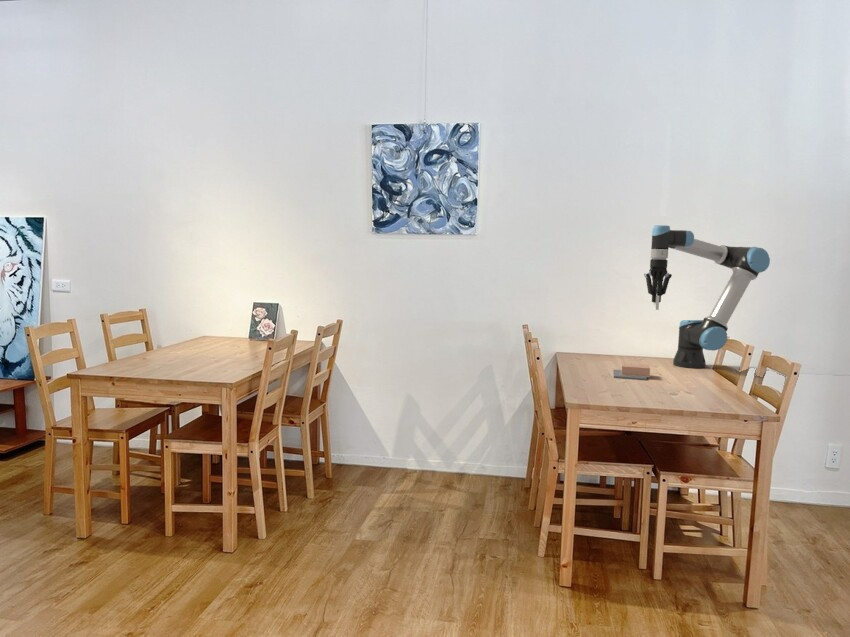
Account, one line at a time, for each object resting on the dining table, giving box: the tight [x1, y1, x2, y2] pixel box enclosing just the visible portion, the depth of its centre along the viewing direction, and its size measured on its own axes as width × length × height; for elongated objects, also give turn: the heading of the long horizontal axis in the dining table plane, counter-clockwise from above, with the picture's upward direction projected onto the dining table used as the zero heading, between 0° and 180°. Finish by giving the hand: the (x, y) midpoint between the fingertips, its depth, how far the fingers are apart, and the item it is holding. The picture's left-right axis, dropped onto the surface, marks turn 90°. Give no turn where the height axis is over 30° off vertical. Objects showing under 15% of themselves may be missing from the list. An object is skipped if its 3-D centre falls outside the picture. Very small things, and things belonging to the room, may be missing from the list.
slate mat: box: [613, 369, 648, 381], centre depth 300 cm, size 14×16×1 cm
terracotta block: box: [620, 362, 651, 378], centre depth 299 cm, size 4×9×12 cm
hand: (655, 309), depth 309 cm, fingers closed
